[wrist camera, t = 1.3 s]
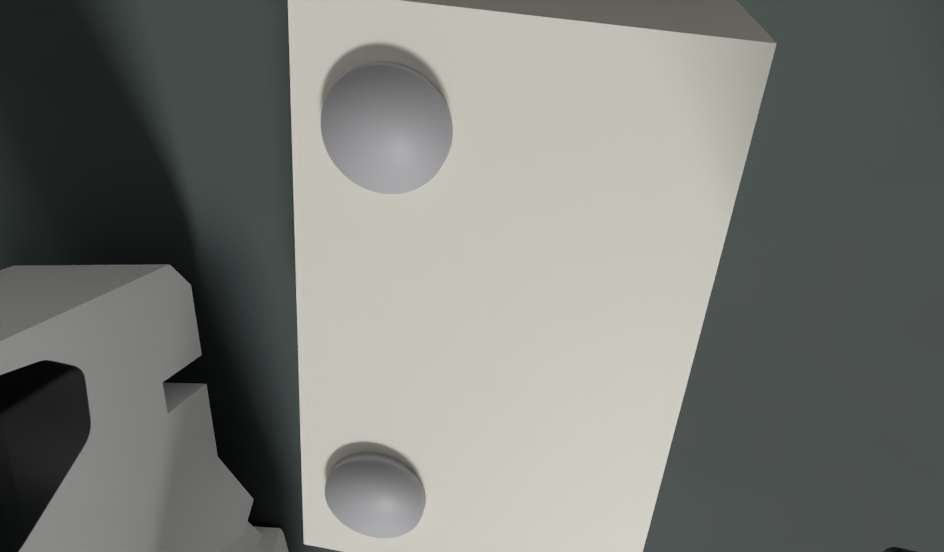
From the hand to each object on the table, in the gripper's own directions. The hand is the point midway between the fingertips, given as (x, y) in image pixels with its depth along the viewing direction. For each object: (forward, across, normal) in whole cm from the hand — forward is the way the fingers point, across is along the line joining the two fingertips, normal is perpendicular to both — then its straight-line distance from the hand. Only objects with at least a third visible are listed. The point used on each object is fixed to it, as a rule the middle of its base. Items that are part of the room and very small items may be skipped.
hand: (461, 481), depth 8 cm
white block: (+7, 0, 0) cm, 7 cm away
